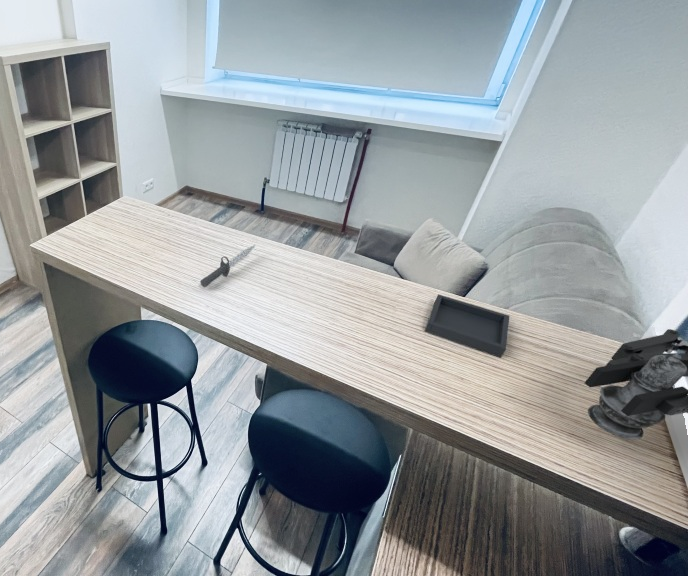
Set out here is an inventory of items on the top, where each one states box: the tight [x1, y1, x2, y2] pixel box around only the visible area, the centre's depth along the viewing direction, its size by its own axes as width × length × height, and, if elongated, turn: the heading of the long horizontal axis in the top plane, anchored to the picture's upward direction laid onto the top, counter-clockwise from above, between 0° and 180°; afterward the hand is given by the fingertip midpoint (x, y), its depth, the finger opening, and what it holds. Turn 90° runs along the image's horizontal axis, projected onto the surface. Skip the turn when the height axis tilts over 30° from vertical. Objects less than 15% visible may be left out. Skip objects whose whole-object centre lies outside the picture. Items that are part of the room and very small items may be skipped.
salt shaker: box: [587, 352, 687, 441], centre depth 49 cm, size 6×6×12 cm
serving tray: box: [424, 294, 510, 358], centre depth 74 cm, size 12×11×2 cm
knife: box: [199, 244, 256, 288], centre depth 90 cm, size 19×2×5 cm, turn 137°
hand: (612, 391), depth 47 cm, fingers closed on salt shaker, 3 cm apart
